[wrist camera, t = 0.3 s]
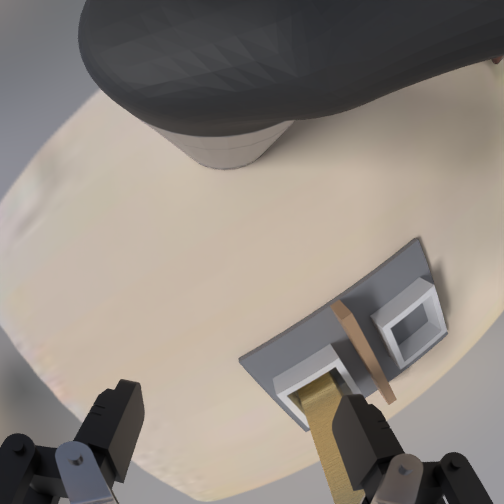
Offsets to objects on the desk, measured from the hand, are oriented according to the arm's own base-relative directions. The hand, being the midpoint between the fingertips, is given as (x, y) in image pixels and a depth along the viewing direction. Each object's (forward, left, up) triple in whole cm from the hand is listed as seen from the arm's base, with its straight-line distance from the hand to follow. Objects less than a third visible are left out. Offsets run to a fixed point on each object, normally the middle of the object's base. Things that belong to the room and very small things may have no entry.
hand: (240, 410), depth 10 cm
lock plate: (+10, +15, -19) cm, 26 cm away
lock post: (+13, +10, -18) cm, 24 cm away
